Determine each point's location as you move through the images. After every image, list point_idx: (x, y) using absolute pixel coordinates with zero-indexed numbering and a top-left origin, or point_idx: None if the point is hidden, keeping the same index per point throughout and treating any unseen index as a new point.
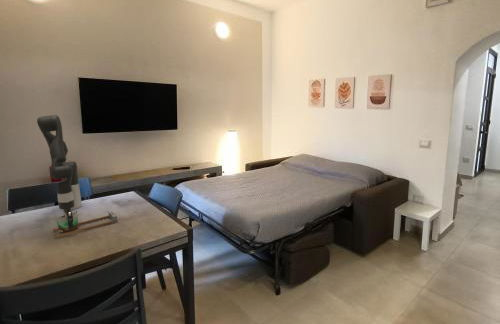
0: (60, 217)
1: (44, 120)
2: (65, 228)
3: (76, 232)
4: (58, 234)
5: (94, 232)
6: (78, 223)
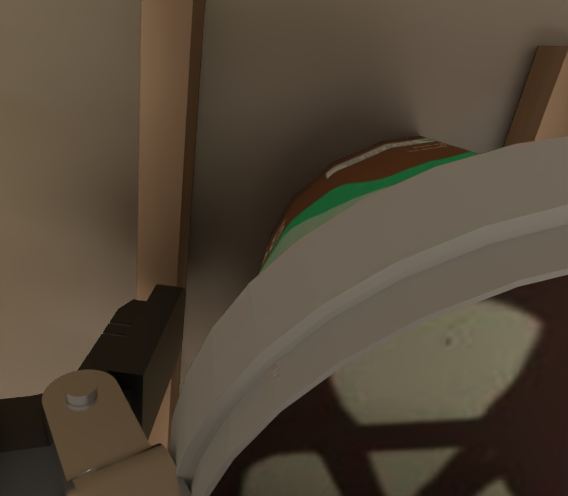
0: (502, 382)
1: None
2: (276, 240)
3: None
4: (187, 56)
5: None
6: None
